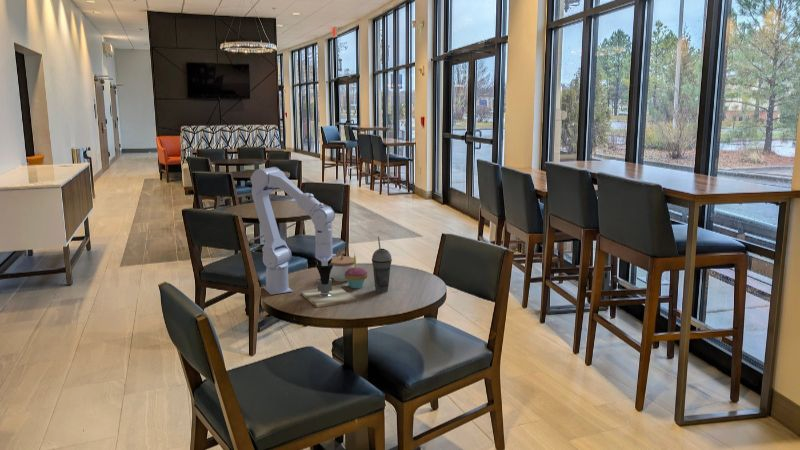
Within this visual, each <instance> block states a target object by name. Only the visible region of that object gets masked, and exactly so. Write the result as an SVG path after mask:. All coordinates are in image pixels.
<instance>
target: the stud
mask: <svg viewBox="0 0 800 450" xmlns="http://www.w3.org/2000/svg"><path fill="white" fill-rule="evenodd" d="M319 296H320V297H328V296H331V293H329V291H328V292H321V293H320V294H319Z"/></svg>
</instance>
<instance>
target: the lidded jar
mask: <svg viewBox="0 0 800 450" xmlns="http://www.w3.org/2000/svg"><path fill="white" fill-rule="evenodd" d="M330 264H333V267H332V269H331V272H330V276H331V278H333V280H334V281H336V282H348V281H347V279H346V278H345V272H346V271H347V270H348V269H350V268H354V256H345V255H343V254H342V255H340V256H336V257H333V258H332V261H331V263H330Z"/></svg>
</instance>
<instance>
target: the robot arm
mask: <svg viewBox="0 0 800 450" xmlns="http://www.w3.org/2000/svg"><path fill="white" fill-rule="evenodd" d="M249 180H250V182H251V185H252V186H251V197H252V201H253V203H254V207H255V211H256V215H257V217H258V221H259V224H260V229H261V231H262V235H263V238H264V245H263V246H262V248H261V251H262V262H263V264H264V266H265V268H266V269H265V286H263V289H264V290H265V291H266V292H267V293H268V294H269V295H279V294H284V293H285V294H286V293H292V292H293V289H291V288H290V286H289V264H290V263H289V262H290V261H291V259H292V258H293V257H292V251H291V249H290V248H289V246H288V245H287V242H286V241H285V240H284V239H283V238H281V235H280V234H281V233H280V231H279V227H278V224H277V220H276V217H275V214H274V210H273V207H272V203H271V199H270V194H271V193H272V191H273V189H274V188H275V189H276V188H279V189H280V190H282V191H283V192H284V193H285V194H287V195H289V196H290V197H291V198H292V199H294V200H296V205H297V206H298V207H299V208H300V209H301V210H302V211H303V212H304V213H306V214H307V215H308V216H309V217H310V219H311V222H312V224H313V225H314V235H315V236H314V237H315V256H314V257H315V260H316V262H317V263H316V265H315V267H316V269H317V271H318V273H319V279H321V283H322V285H323V284H328V283H329V279H330V276H331V275H330V272H331V269H332V267H333V264H330V263H331V261H332V258H333V257H337V254H336V253H333V221H334V220H335V217H336V215H335V213H336V212H335V211H334V210H333V208H332V207H331V206H329V205H325V204H324V203H323V202H320V201H319V200H317V198H315V197H314V196H315V195H314V194H313V193H309V192H303V191H302V190H301V189H300V188H299V187H298V186H296V184H295V183H294V182H293V181H291V180H290V179H289V178H288V177H287V176H286V174H285V172H284V171H282V170H281V169H279V168H278V167H277V166H271V167H267V168H259V169H258V168H257V169H256V170H254V171H253V172H252V174H251V176H250V179H249Z"/></svg>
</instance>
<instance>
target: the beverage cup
mask: <svg viewBox="0 0 800 450" xmlns="http://www.w3.org/2000/svg"><path fill="white" fill-rule="evenodd" d="M380 240H381V239H380V236H377V242H378V249H376V250H375V251H374V252H373V253H372V255H371V256H372V257H371V263H372V264H371V265H372V269H373V280H374V290H375V292H376V293H378V292H379V294H385V293H387V292H388V291H389V284H390V274H391V266H392V261H393V259H392V255H391V253H390V251H389V250H388V249H386V248H382V247H381V241H380Z"/></svg>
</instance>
